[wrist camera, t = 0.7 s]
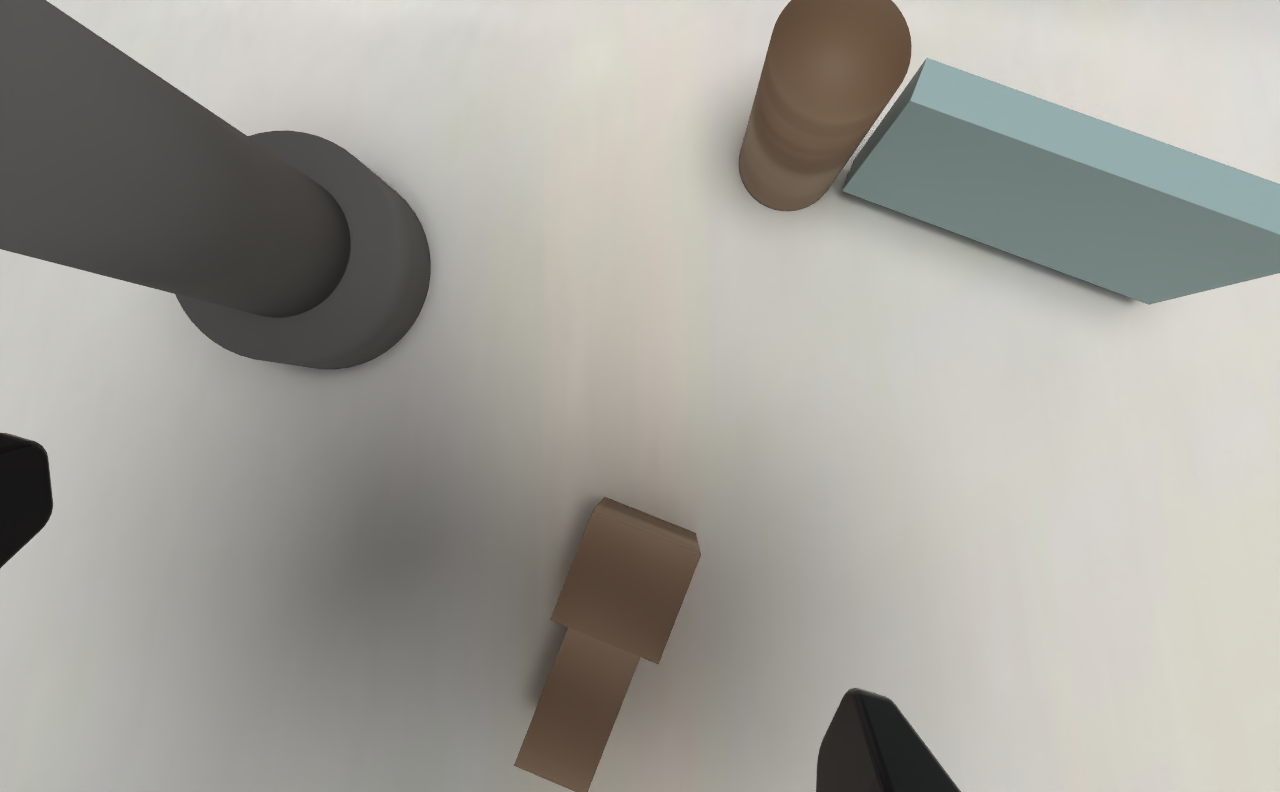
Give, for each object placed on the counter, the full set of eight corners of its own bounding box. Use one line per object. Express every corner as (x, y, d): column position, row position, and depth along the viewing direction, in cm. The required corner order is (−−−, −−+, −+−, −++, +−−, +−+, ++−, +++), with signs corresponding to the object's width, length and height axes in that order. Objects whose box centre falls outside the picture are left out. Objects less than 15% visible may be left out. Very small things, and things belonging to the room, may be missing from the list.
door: (841, 190, 21) (910, 100, 15) (865, 129, 21) (943, 14, 15) (1148, 304, 21) (1343, 257, 15) (1172, 241, 21) (1376, 168, 15)
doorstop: (337, 410, 22) (-120, 398, 9) (192, 278, 23) (-445, 89, 10) (472, 258, 22) (199, 35, 9) (324, 128, 23) (-136, -262, 10)
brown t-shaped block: (759, 101, 22) (800, -39, 15) (850, 135, 22) (932, 7, 15) (523, 703, 22) (458, 831, 15) (614, 741, 22) (589, 888, 15)
